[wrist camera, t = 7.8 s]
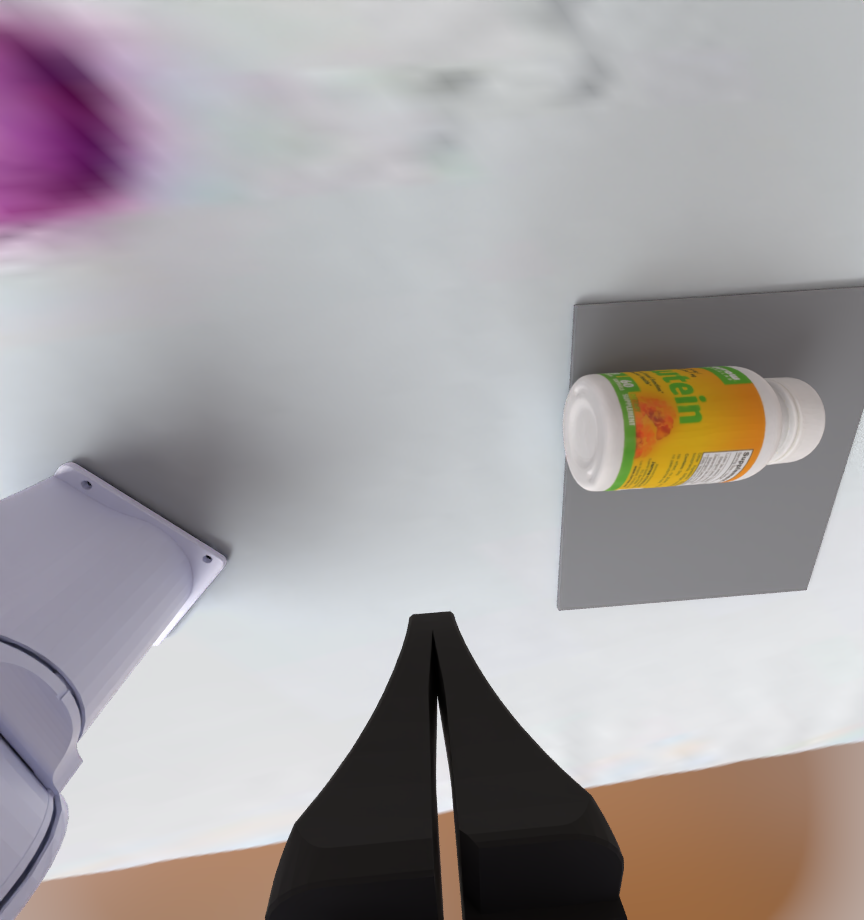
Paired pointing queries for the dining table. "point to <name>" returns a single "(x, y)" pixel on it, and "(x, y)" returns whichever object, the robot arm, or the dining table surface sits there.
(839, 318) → the slate mat
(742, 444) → the supplement bottle
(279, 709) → the dining table surface
